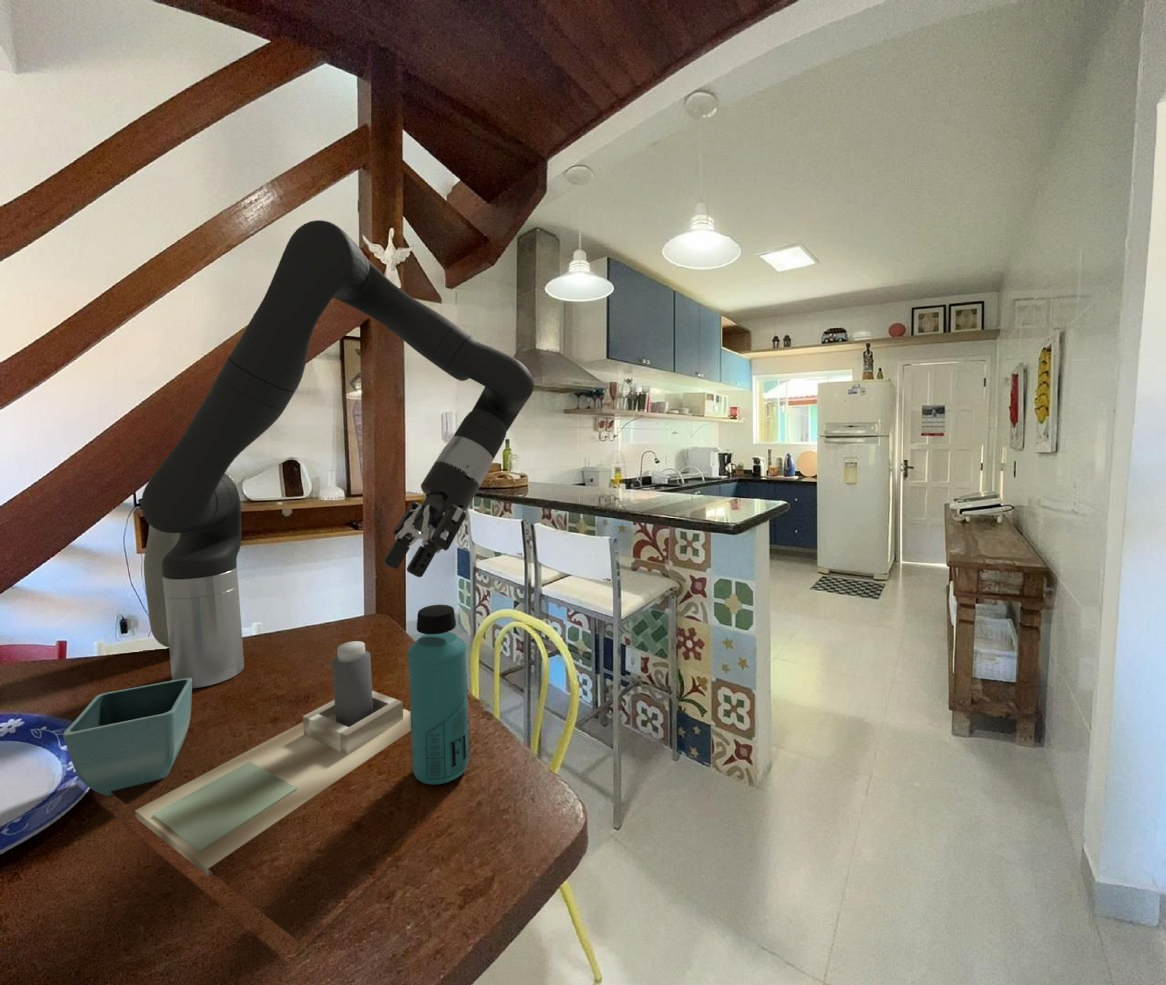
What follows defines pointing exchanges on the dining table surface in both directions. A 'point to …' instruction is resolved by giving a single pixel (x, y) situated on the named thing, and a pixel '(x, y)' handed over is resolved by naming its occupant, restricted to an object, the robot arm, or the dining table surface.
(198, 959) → the dining table surface
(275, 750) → the cream tray
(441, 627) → the beverage bottle
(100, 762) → the flower pot
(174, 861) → the dining table surface
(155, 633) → the grey tall rounded piece
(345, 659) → the grey capped cylinder
